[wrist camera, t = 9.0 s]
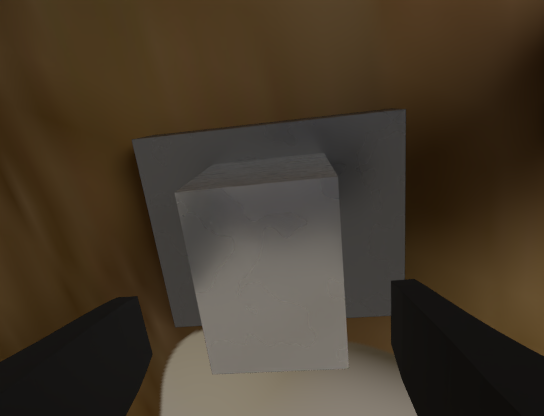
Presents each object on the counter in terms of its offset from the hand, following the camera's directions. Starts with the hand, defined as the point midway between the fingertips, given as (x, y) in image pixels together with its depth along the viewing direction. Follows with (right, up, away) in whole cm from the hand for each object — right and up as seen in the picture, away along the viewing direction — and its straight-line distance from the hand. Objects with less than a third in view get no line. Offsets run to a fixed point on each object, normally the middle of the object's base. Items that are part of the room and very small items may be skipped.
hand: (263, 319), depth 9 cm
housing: (0, +2, +6) cm, 7 cm away
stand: (+1, +3, +8) cm, 9 cm away
